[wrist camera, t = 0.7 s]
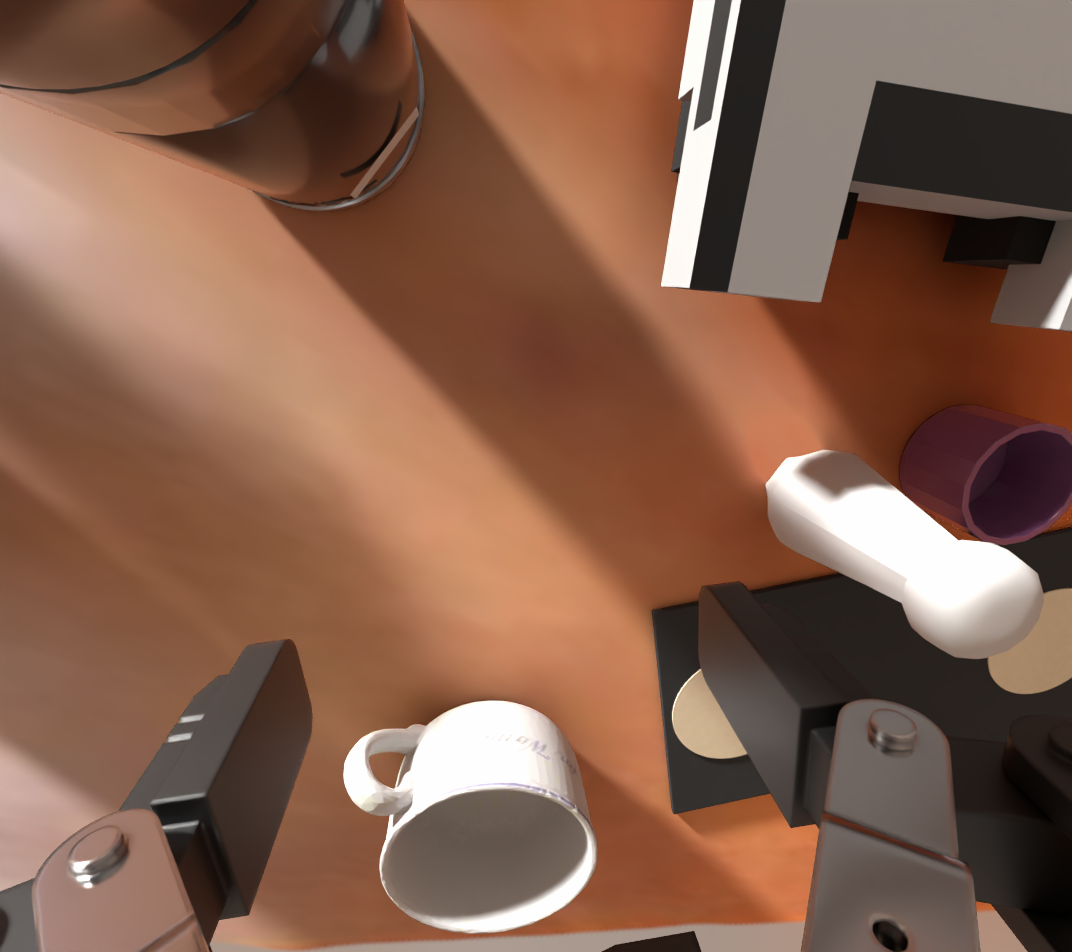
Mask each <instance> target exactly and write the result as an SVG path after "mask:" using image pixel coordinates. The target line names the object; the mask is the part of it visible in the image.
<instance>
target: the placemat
mask: <svg viewBox="0 0 1072 952" xmlns="http://www.w3.org/2000/svg"><path fill="white" fill-rule="evenodd" d="M993 544H994V543H993ZM995 545H998V546H1000V547H1002V548H1005V549H1007V550H1009V551H1010V552H1011V553H1013V554H1014V555H1015V556H1016V557H1018V558H1019V559H1020V560H1022V561H1023V562H1024V563H1025V564H1027V565H1028V566H1029V567H1030V568H1032V569H1033V570H1034V571H1035V572H1036V573H1038V576H1039V579H1040V583H1041V586H1042V590H1043V596H1044V603H1043V606H1042V610H1041V613H1040V617H1039V620H1038V622H1037V623H1036V624H1035V626H1034V627H1033V629H1032V630H1031V631H1030V633H1029V634H1028V636H1027V637H1026V638H1025V639H1023V640H1022V641H1021V642H1019V643H1018V644H1016V645H1015V646H1014V647H1012V648H1011V649H1009V650H1008V651H1006V652H1003V653H1000V654H997V655H994V656H991V657H988V658H981V659H969V658H957V657H954V656H952V655H950V654H948V653H947V652H945V651H943V650H941V649H939V648H938V647H936V646H935V645H933V644H932V643H930V642H929V641H927V640H926V639H924V638H923V637H922V636H921V635H919V634H918V633H917V632H916V631H915V630H914V629H913V628H912V627H911V625H910V623H909V621H908V619H907V616H906V614H905V611H904V608H903V605H902V603H901V602H899V601H897V600H895V599H893V598H891V597H889V596H887V595H885V594H883V593H881V592H879V591H877V590H875V589H873V588H871V587H869V586H867V585H865V584H863V583H860V582H858V581H856V580H854V579H852V578H850V577H848V576H845V575H843V574H841V573H839V574H834V575H829V576H824V577H819V578H814V579H809V580H804V581H799V582H794V583H789V584H784V585H779V586H774V587H769V588H764V589H759V590H753V591H750V592H751V593H752V594H753V595H754V596H755V598H756V599H757V600H758V601H759V602H760V603H761V604H764V603H773V604H775V605H776V606H778V607H780V608H782V609H784V610H786V611H787V612H789V613H791V614H793V615H795V616H796V617H797V618H798V619H799V620H800V621H801V622H802V623H803V624H804V626H805V627H806V628H807V629H808V630H809V631H810V632H811V635H812V636H815V637H816V638H817V639H818V640H819V641H820V642H821V643H822V644H823V645H824V646H825V650H829V651H830V652H831V653H832V654H833V656H834V657H835V658H836V659H837V660H838V661H839V662H840V663H841V664H842V665H843V666H844V667H845V668H846V669H847V670H848V671H849V672H850V673H851V674H852V675H853V676H854V677H855V678H856V679H857V680H858V681H859V682H860V683H861V685H862V686H863V687H864V688H865V689H866V690H867V691H868V692H869V693H870V694H871V695H872V696H873V697H874V698H875V699H880V700H886V701H891V702H895V703H898V704H901V705H904V706H906V707H909V708H911V709H913V710H915V711H917V712H919V713H921V714H922V715H924V716H925V717H927V718H928V719H929V720H931V721H932V722H933V723H935V724H936V725H937V726H938V727H939V728H940V730H941V731H942V732H943V733H944V735H945V736H951V737H959V738H969V739H979V740H988V741H998V742H1006V741H1007V736H1008V732H1009V728H1010V725H1011V723H1012V722H1013V721H1014V720H1015V719H1017V718H1019V717H1021V716H1024V715H1030V714H1046V715H1054V716H1059V717H1064V718H1068V719H1071V720H1072V527H1071V528H1066V529H1061V530H1056V531H1051V532H1046V533H1041V534H1038V535H1036V536H1034V537H1032V538H1031V539H1029V540H1026V541H1023V542H1018V543H1013V544H1008V545H999V544H995ZM652 616H653V626H654V636H655V646H656V656H657V666H658V676H659V686H660V696H661V706H662V716H663V726H664V736H665V746H666V756H667V766H668V776H669V786H670V796H671V807H672V811H673V814H677V813H682V812H687V811H691V810H696V809H700V808H705V807H710V806H714V805H719V804H723V803H728V802H733V801H737V800H742V799H747V798H751V797H756V796H760V795H765V794H770V792H769V790H768V788H767V786H766V785H765V783H764V781H763V780H762V778H761V776H760V774H759V773H758V771H757V769H756V768H755V766H754V764H753V762H752V761H751V759H750V757H749V756H748V754H747V752H746V750H745V749H744V747H743V745H742V744H741V742H740V740H739V739H738V737H737V735H736V733H735V732H734V730H733V728H732V727H731V725H730V723H729V721H728V720H727V718H726V716H725V715H724V713H723V711H722V709H721V708H720V706H719V704H718V703H717V701H716V699H715V697H714V696H713V694H712V692H711V691H710V689H709V687H708V685H707V684H706V682H705V679H704V677H703V674H702V671H701V667H700V662H699V653H698V639H699V601H698V602H693V603H688V604H683V605H678V606H673V607H668V608H663V609H658V610H653V611H652Z"/></svg>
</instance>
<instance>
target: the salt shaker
mask: <svg viewBox="0 0 1072 952" xmlns="http://www.w3.org/2000/svg"><path fill="white" fill-rule="evenodd" d="M765 486H766V492H767V498H768V519H769V521H770V524H771V526H772V528H773V531H774V533H775V535H776V537H777V538H778V540H779V541H780V542H781V543H783V544H784V545H786V546H787V547H789V548H790V549H792V550H794V551H795V552H797V553H799V554H801V555H803V556H805V557H807V558H809V559H811V560H813V561H816V562H818V563H820V564H822V565H824V566H826V567H828V568H831V569H833V570H835V571H837V572H839V573H841V574H843V575H845V576H848V577H850V578H852V579H854V580H856V581H858V582H860V583H863V584H865V585H867V586H869V587H871V588H873V589H875V590H877V591H879V592H881V593H883V594H885V595H887V596H889V597H891V598H893V599H895V600H897V601H899V602H901V603H902V605H903V608H904V611H905V614H906V616H907V619H908V621H909V623H910V625H911V627H912V628H913V629H914V630H915V631H916V632H917V633H918V634H919V635H921V636H922V637H923V638H924V639H926V640H927V641H929V642H930V643H932V644H933V645H935V646H936V647H938V648H939V649H941V650H943V651H945V652H947V653H948V654H950V655H952V656H954V657H957V658H969V659H981V658H988V657H991V656H994V655H997V654H1000V653H1003V652H1006V651H1008V650H1009V649H1011V648H1012V647H1014V646H1015V645H1016V644H1018V643H1019V642H1021V641H1022V640H1023V639H1025V638H1026V637H1027V636H1028V634H1029V633H1030V631H1031V630H1032V629H1033V627H1034V626H1035V624H1036V623H1037V622H1038V620H1039V617H1040V613H1041V610H1042V606H1043V603H1044V596H1043V590H1042V586H1041V583H1040V579H1039V576H1038V573H1036V572H1035V571H1034V570H1033V569H1032V568H1030V567H1029V566H1028V565H1027V564H1025V563H1024V562H1023V561H1022V560H1020V559H1019V558H1018V557H1016V556H1015V555H1014V554H1013V553H1011V552H1010V551H1009V550H1007V549H1005V548H1002V547H1000V546H998V545H995V544H993V543H988V542H980V541H969V540H960V541H958V540H957V539H956V538H955V537H954V536H952V535H951V534H950V533H949V532H948V531H946V530H945V529H944V528H943V527H942V526H940V525H939V524H938V523H937V522H936V521H934V520H933V519H932V518H931V517H930V516H928V515H927V514H926V513H925V512H924V511H922V510H921V509H920V508H919V507H918V506H916V505H915V504H914V503H913V502H912V501H910V500H909V499H908V498H907V497H906V496H904V495H903V494H902V493H901V492H900V491H898V490H897V489H896V488H895V487H894V486H892V485H891V484H890V483H889V482H888V481H886V480H885V479H884V478H883V477H882V476H881V475H880V474H878V473H877V472H876V471H875V470H874V469H873V468H872V467H870V466H869V465H868V464H867V463H865V462H864V461H863V460H862V459H860V458H859V457H858V456H857V455H855V454H854V453H850V452H843V451H834V450H825V449H824V450H821V451H818V452H814V453H811V454H808V455H805V456H801V457H792V458H786V460H785V461H784V462H783V463H782V464H781V466H780V467H779V468H778V469H777V471H776V472H775V473H774V474H773V476H772V477H771V478H770V479H769V480H768V482H767V483H766V484H765Z"/></svg>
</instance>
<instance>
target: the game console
mask: <svg viewBox="0 0 1072 952" xmlns="http://www.w3.org/2000/svg"><path fill="white" fill-rule="evenodd" d="M678 100H682V108H681V114H680V120H679V126H678V133H677V139H676V145H675V151H674V158H673V164H672V170H671V171H672V172H679V179H678V185H677V192H676V198H675V204H674V210H673V216H672V222H671V228H670V234H669V240H668V246H667V253H666V259H665V265H664V271H663V277H662V283H661V286H664V287H673V288H682V289H691V290H700V291H709V292H718V293H727V294H736V295H745V296H754V297H763V298H771V299H782V300H795V301H807V302H820V303H821V299H822V295H823V291H824V287H825V283H826V279H827V275H828V271H829V267H830V263H831V260H832V256H833V252H834V248H835V244H836V240H844V239H848V235H849V231H850V227H851V223H852V219H853V215H854V211H855V207H856V203H857V201H861V202H868V203H875V204H882V205H890V206H897V207H904V208H911V209H918V210H925V211H933V212H940V213H947V214H954V215H957V216H956V219H955V223H954V226H953V229H952V232H951V236H950V239H949V242H948V245H947V249H946V252H945V255H944V258H943V261H944V262H952V263H959V264H967V265H975V266H983V267H991V268H999V269H1007V272H1006V275H1005V278H1004V281H1003V284H1002V287H1001V290H1000V293H999V296H998V298H997V301H996V304H995V307H994V310H993V313H992V316H991V319H990V322H989V323H996V324H1005V325H1014V326H1023V327H1032V328H1041V329H1050V330H1059V331H1068V332H1072V0H694V2H693V8H692V15H691V21H690V27H689V34H688V40H687V46H686V53H685V59H684V65H683V72H682V78H681V85H680V91H679V97H678Z"/></svg>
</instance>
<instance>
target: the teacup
mask: <svg viewBox="0 0 1072 952" xmlns="http://www.w3.org/2000/svg"><path fill="white" fill-rule="evenodd" d="M383 752H396V753H403V754H405V756H404V759H403V761H402V764H401V767H400V770H399V774H398V778H397V782H396V786H395V788H390V787H387V786H385V785H383V784H382V783H381V782H379V781H378V780H377V779H376V777H375V776H374V775H373V773H372V770H371V767H370V763H369V757H370V756H371V755H373V754H377V753H383ZM344 783H345V787H346V789H347V792H348V794H349V796H350V797H351V799H352V800H353V802H354V803H355V804H356V805H357V806H358V807H359V808H361V809H362V810H363V811H365V812H367V813H369V814H373V815H376V816H389V815H390V818H389V824H388V831H387V837H386V841H385V844H384V846H383V849H382V853H381V856H380V865H379V869H380V875H381V881H382V884H383V887H384V889H385V891H386V892H387V894H388V896H389V897H390V898H391V900H392V901H393V902H394V903H395V904H396V905H397V906H398V907H399V908H400V909H401V910H403V911H404V912H405V913H406V914H407V915H409V916H410V917H412V918H414V919H415V920H417V921H419V922H421V923H424V924H426V925H429V926H431V927H434V928H438V929H442V930H446V931H451V932H461V933H470V934H482V933H497V932H503V931H509V930H513V929H517V928H520V927H524V926H527V925H530V924H533V923H535V922H537V921H539V920H541V919H544V918H546V917H548V916H550V915H552V914H553V913H555V912H556V911H558V910H561V909H563V908H564V907H566V906H567V905H569V904H570V903H571V901H572V900H573V899H574V898H575V897H576V896H577V895H578V894H579V893H580V892H581V891H582V890H583V889H584V888H585V887H586V885H587V883H588V882H589V880H590V878H591V876H592V875H593V873H594V870H595V867H596V862H597V854H598V851H597V840H596V835H595V831H594V829H593V827H592V825H591V821H590V816H589V810H588V805H587V800H586V795H585V790H584V786H583V781H582V777H581V773H580V769H579V766H578V763H577V759H576V756H575V754H574V751H573V749H572V747H571V745H570V743H569V741H568V739H567V738H566V736H565V735H564V733H563V732H562V731H561V730H560V728H559V727H558V726H557V725H556V724H555V723H554V722H553V721H551V720H550V719H549V718H547V717H546V716H545V715H543V714H542V713H540V712H538V711H536V710H534V709H532V708H530V707H527V706H524V705H521V704H517V703H513V702H507V701H479V702H473V703H469V704H465V705H461V706H458V707H456V708H453V709H451V710H449V711H447V712H445V713H443V714H441V715H440V716H438V717H437V718H435V719H434V720H432V721H431V722H430V723H429V724H428V725H426V726H424V725H421V724H414V725H411V726H410V727H408V728H407V729H403V728H396V729H383V730H378V731H374V732H371V733H370V734H368V735H366V736H364V737H363V738H361V739H360V740H359V741H358V742H357V743H356V745H355V746H354V747H353V749H352V750H351V751H350V753H349V754H348V757H347V759H346V761H345V765H344Z"/></svg>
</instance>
